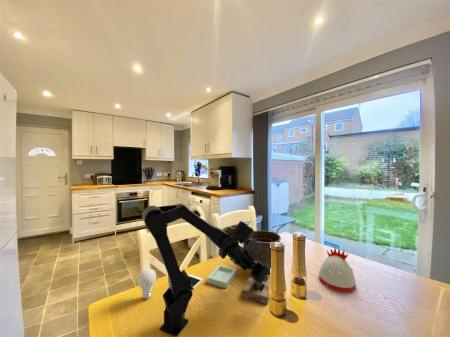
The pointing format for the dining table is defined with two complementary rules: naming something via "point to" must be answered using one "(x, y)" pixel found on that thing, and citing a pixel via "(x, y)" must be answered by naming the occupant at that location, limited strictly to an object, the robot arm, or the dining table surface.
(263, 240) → the plant pot
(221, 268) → the tray
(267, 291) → the socket block
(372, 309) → the dining table surface
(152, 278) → the light bulb
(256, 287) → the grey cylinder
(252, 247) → the robot arm
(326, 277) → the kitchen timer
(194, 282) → the cell phone
